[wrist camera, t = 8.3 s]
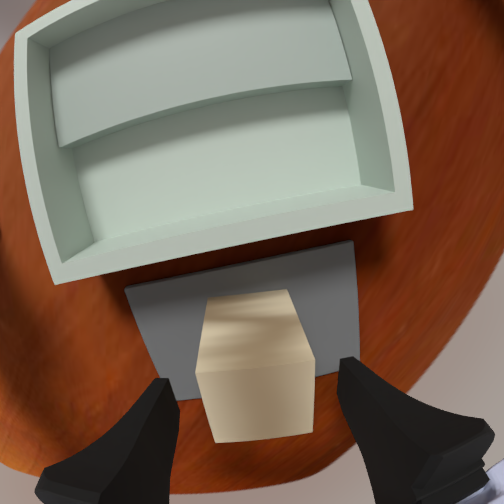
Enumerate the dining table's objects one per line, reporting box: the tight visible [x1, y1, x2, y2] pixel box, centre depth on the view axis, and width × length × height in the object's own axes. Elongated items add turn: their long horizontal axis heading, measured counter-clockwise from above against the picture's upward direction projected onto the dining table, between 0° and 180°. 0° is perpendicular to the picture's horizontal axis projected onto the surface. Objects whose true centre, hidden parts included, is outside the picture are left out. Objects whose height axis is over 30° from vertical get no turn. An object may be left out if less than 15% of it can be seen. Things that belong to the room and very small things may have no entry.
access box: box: [14, 0, 413, 285], centre depth 11 cm, size 15×12×4 cm
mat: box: [124, 240, 360, 401], centre depth 16 cm, size 12×8×1 cm, turn 101°
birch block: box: [195, 289, 315, 443], centre depth 13 cm, size 4×4×6 cm
